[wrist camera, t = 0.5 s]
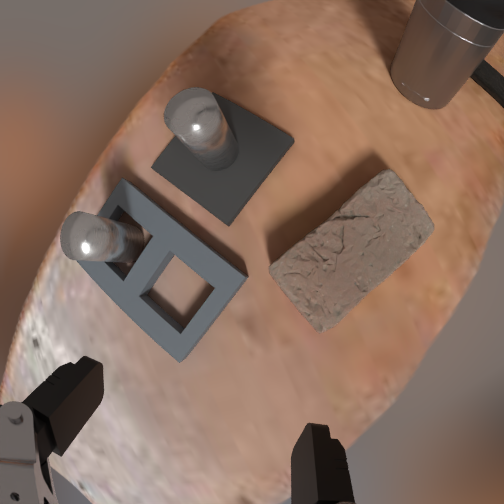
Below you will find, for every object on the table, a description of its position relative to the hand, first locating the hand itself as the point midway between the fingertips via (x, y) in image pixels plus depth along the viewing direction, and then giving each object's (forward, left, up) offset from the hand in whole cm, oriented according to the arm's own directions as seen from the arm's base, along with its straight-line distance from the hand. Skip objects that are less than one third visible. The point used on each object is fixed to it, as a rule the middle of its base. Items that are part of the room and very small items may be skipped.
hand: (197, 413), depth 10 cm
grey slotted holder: (+3, -13, -22) cm, 26 cm away
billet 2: (-12, -15, -21) cm, 28 cm away
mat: (-12, -15, -22) cm, 29 cm away
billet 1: (+3, -18, -22) cm, 29 cm away
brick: (-12, +3, -23) cm, 26 cm away
